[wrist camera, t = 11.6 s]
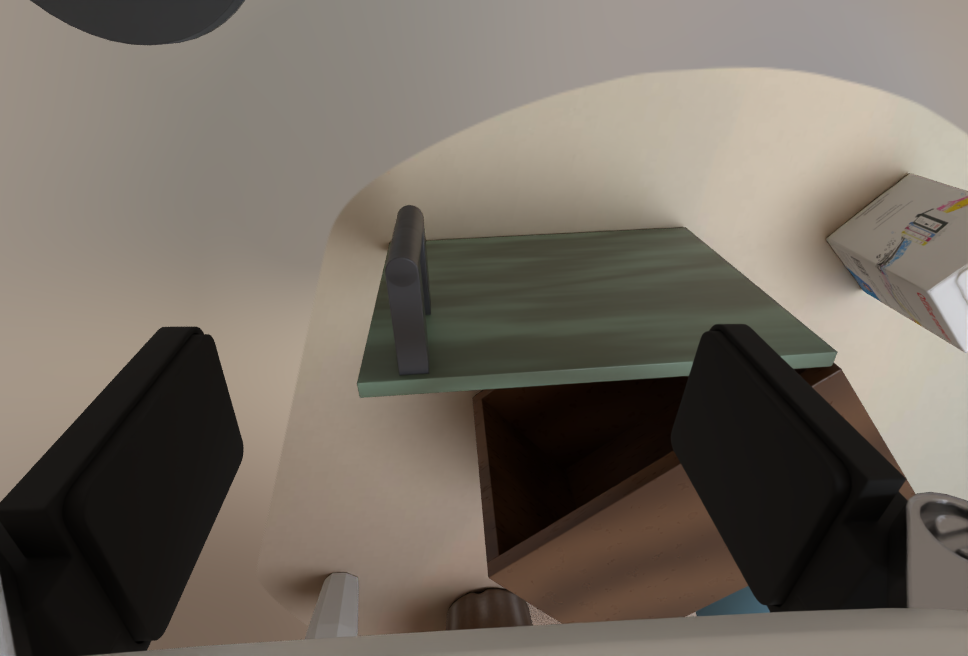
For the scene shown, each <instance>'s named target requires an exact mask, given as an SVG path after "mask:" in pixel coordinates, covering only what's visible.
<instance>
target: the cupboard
mask: <svg viewBox="0 0 968 656" xmlns="http://www.w3.org/2000/svg"><path fill="white" fill-rule="evenodd" d="M794 370H795V371H796V372H797V373H798V374H799V375H800V376H801V377H802V378H803V379H804V380H805V381H806V382H807V383H808V384H809V385H810V386H811V387H813V388H814V389H815V390H816V391H817V392H818V393H819V394H820V395H821V396H822V397H823V398H824V399H825V400H826V401H827V402H828V403H829V404H830V405H831V406H832V407H833V408H834V409H835V410H836V411H837V412H838V413H839V414H840V415H841V416H842V417H843V418H844V419H845V420H847V421H848V422H849V423H850V424H851V425H852V426H853V427H854V428H855V429H856V430H857V431H858V432H859V433H860V434H861V435H862V436H863V437H864V438H865V439H866V440H867V441H868V442H869V443H870V444H871V445H872V446H873V447H874V448H875V449H876V450H877V451H878V452H880V453H881V454H882V455H883V456H884V457H885V458H886V459H887V460H888V461H889V462H890V463H891V464H892V465H893V466H894V467H895V468H896V469H897V470H898V471H899V472H900V473H901V474H902V475H903V476H904V477H905V475H904V474H903V472H902V470H901V469H900V467H899V465H898V464H897V462H896V460H895V459H894V457H893V455H892V454H891V452H890V450H889V449H888V447H887V445H886V443H885V442H884V440H883V438H882V437H881V435H880V433H879V432H878V430H877V428H876V427H875V425H874V423H873V422H872V420H871V418H870V417H869V415H868V413H867V411H866V410H865V408H864V406H863V405H862V403H861V401H860V400H859V398H858V396H857V395H856V393H855V391H854V390H853V388H852V386H851V385H850V383H849V381H848V379H847V378H846V376H845V374H844V373H843V371H842V369H841V368H840V367H838V366H837V365H836V364H835V363H834V362H833V365H832V366H829V367H814V368H799V369H794ZM688 377H689V376H679V377H664V378H649V379H634V380H619V381H604V382H589V383H574V384H559V385H544V386H529V387H514V388H499V389H484V390H482V391H481V392H480V393H478V394H477V395H476V396H474V397H473V408H474V420H475V431H476V442H477V454H478V465H479V477H480V488H481V499H482V511H483V522H484V534H485V545H486V556H487V567H488V577H489V578H490V579H491V580H493V581H494V582H496V583H498V584H499V585H501V586H502V587H504V588H506V589H507V590H509V591H511V592H512V593H514V594H515V595H517V596H519V597H520V598H522V599H523V600H525V601H527V602H528V603H530V604H531V605H533V606H535V607H536V608H538V609H540V610H541V611H543V612H544V613H546V614H548V615H549V616H551V617H552V618H554V619H556V620H557V621H559V622H560V623H562V624H569V623H586V622H603V621H621V620H640V619H658V618H677V617H685V616H687V615H689V614H691V613H694V612H696V611H698V610H700V609H702V608H704V607H706V606H708V605H710V604H712V603H714V602H716V601H718V600H720V599H722V598H724V597H726V596H728V595H730V594H732V593H735V592H737V591H739V590H741V589H743V588H745V587H747V586H748V584H747V582H746V581H745V579H744V577H743V575H742V573H741V572H740V570H739V568H738V566H737V564H736V563H735V561H734V559H733V557H732V555H731V553H730V552H729V550H728V548H727V546H726V544H725V543H724V541H723V539H722V537H721V535H720V534H719V532H718V530H717V528H716V526H715V525H714V523H713V521H712V519H711V517H710V515H709V514H708V512H707V510H706V508H705V506H704V505H703V503H702V501H701V499H700V497H699V496H698V494H697V492H696V490H695V488H694V486H693V485H692V483H691V481H690V479H689V477H688V476H687V474H686V472H685V470H684V468H683V467H682V465H681V463H680V461H679V459H678V458H677V456H676V454H675V452H674V450H673V448H672V444H671V432H672V428H673V425H674V422H675V419H676V416H677V412H678V409H679V406H680V403H681V399H682V396H683V393H684V390H685V387H686V383H687V380H688ZM905 478H906V477H905ZM899 492H900V493H901V494H902V495H903V496H904V497H905V498H906V499H907V500H909V499H910V498H911V497H913V496H914V495H916V494H915V492H914V491H913V489H912V487H911V486H910V484H909V482H908V481H907V479H906V481H905V482H904V484H903V485H902V487H901V488H900V490H899Z"/></svg>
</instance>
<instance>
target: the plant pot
mask: <svg viewBox="0 0 968 656" xmlns="http://www.w3.org/2000/svg"><path fill="white" fill-rule="evenodd" d="M517 626H533V624H532V620H531V616H530V612H529V608H528V606H527V603H526V601H525V600H523V599H522V598H520V597H519V596H517V595H515V594H514V593H512V592H510V591H507V590H500V589H487V590H485V591H484V592H483V593H481V594H475V593H473V592H472V593H469V594H467V595H465V596H463V597H461V598H460V599H458V600H457V601H456V602H454V603H453V605H452V606H451V607H450V609H449V610H448V613H447V623H446V631H450V630H466V629H483V628H500V627H517Z"/></svg>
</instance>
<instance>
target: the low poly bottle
mask: <svg viewBox="0 0 968 656" xmlns="http://www.w3.org/2000/svg"><path fill="white" fill-rule="evenodd" d="M358 591H359V584H358V577H356V576H353V575H351V574H348V573H332V574H331V575H329V576H328V577H327V578H326V579H325V580H324V583H323V586H322V589H321V592H320V595H319V598H318V601H317V604H316V607H315V610H314V613H313V615H312V618H311V621H310V624H309V627H308V630H307V633H306V638H305V639H321V638H337V637H352V636H358Z"/></svg>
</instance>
